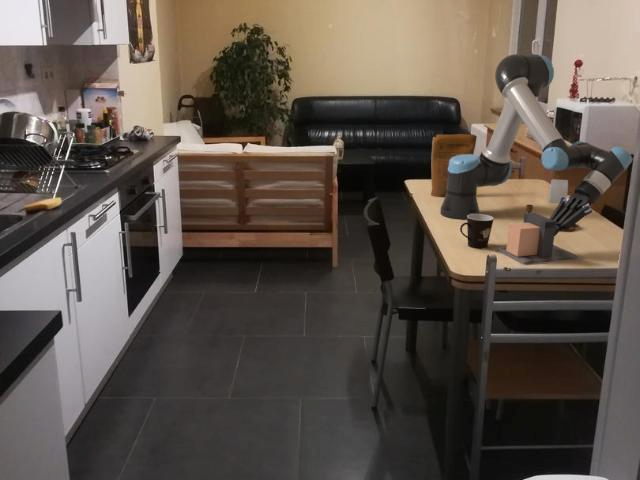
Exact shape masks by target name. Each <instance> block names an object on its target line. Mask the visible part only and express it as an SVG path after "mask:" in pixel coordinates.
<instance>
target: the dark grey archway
mask: <svg viewBox="0 0 640 480" xmlns="http://www.w3.org/2000/svg"><path fill="white" fill-rule="evenodd" d="M523 215H524V217H523V223H528V222H530V223H533V224H535V225H538V226H540V227H541V229H540V236H539V244H538V252H537V256H538V257H540V258H544V257H552V250H553V245H554V241H555V240H554V239H555V236H554V235H555V228H556V221H554V220H551V219H549V218H550V217H547V216H543V215H542V214H541V215H540V214H539V213H536V212H533V213H532V212H529V214H528V213H524V214H523Z"/></svg>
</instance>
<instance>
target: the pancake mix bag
mask: <svg viewBox="0 0 640 480" xmlns="http://www.w3.org/2000/svg"><path fill="white" fill-rule="evenodd" d="M477 138H478V137H477V135H475V134H472V133H471V134H467V133H465V134H463V133H459V134H454V133H453V134H436V135H435V136H433V137H432V142H431V156H430V157H431V158H430V160H431V165H430V166H431V167H430V168H431V192H430V195H431V196H432V197H437V198H445V196H446V192H447V179H448V167H449V161H450V159H451V158H452V157H454V156H457V155H463V154H464V155H466V154H473V155H475V154H474V153H475V149H476V145H477V144H476V143H477Z"/></svg>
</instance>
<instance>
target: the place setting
mask: <svg viewBox="0 0 640 480" xmlns="http://www.w3.org/2000/svg"><path fill="white" fill-rule="evenodd" d="M533 208H534V205H533V204H526V206H525V211H526V212H527V214H529V213H532V212H533V210H534V209H533ZM577 228H578V229H580V230H583V228H582V227H580V224H578V223H576V224H574V225H573V226H572V227H571V228H569V229H568V230H565V229H563V230H560V231H559V232H562V233H563V232H564V233H567V232H568V233H569V232H574V231H575V230H576V229H577Z"/></svg>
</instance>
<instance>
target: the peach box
mask: <svg viewBox="0 0 640 480" xmlns="http://www.w3.org/2000/svg"><path fill="white" fill-rule="evenodd" d="M540 229H541V227H540V226H538V225H535V224H533V223H530V222H528V223H524V222H518V223H517V222H516V223H509V224H508V232H507V241H506V247H507V248H506V251H507V252H509V253H511V254H513V255H515V256H517V257H519V256H528V255H537V252H538V244H539V236H540Z"/></svg>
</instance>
